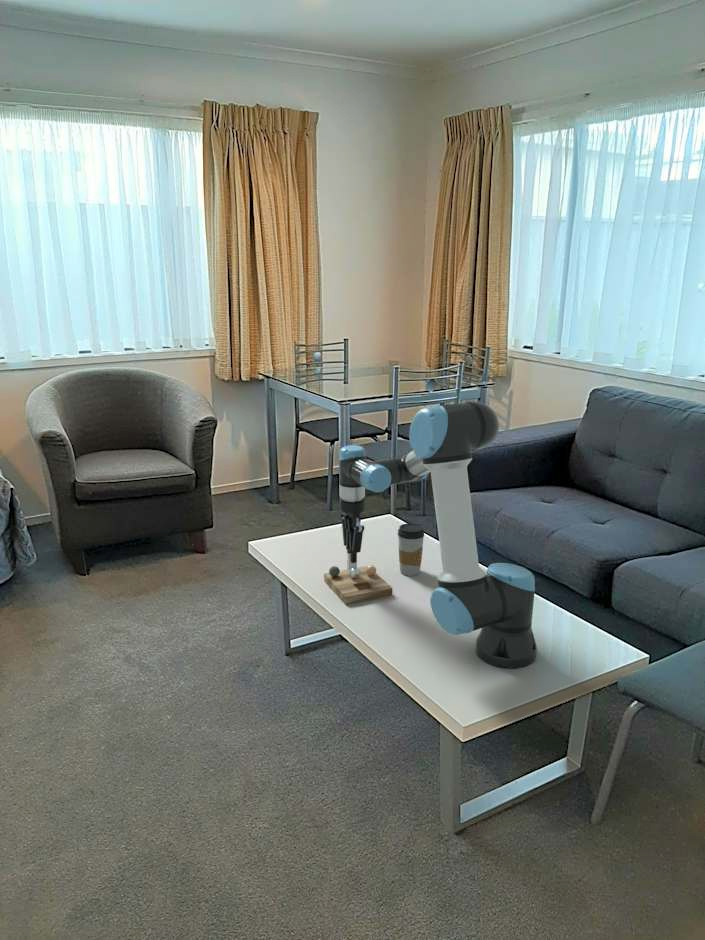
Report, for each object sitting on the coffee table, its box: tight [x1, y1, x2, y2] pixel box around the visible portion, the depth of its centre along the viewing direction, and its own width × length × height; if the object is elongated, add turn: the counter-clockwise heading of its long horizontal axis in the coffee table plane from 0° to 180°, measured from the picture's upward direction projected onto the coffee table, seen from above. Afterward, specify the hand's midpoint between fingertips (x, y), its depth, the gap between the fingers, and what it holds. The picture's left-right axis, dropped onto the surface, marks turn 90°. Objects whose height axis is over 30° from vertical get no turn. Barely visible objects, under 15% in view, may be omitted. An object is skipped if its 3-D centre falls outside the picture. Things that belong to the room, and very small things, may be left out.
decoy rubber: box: [328, 565, 341, 577], centre depth 226 cm, size 3×3×3 cm
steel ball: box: [349, 566, 361, 578], centre depth 225 cm, size 3×3×3 cm
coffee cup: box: [397, 522, 425, 577], centre depth 234 cm, size 8×8×15 cm
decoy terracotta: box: [366, 564, 377, 576], centre depth 227 cm, size 3×3×3 cm
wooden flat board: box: [323, 565, 393, 605], centre depth 224 cm, size 17×15×2 cm
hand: (351, 570), depth 227 cm, fingers closed
